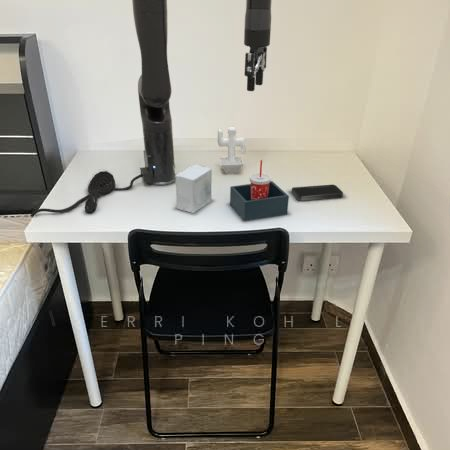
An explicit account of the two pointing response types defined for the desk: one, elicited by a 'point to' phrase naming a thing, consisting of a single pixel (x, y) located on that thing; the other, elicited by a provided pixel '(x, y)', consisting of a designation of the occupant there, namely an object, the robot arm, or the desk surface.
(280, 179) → the desk surface
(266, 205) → the tub
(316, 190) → the phone
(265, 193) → the beverage cup
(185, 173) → the cosmetics box
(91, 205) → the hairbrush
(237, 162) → the figurine
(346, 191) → the desk surface
